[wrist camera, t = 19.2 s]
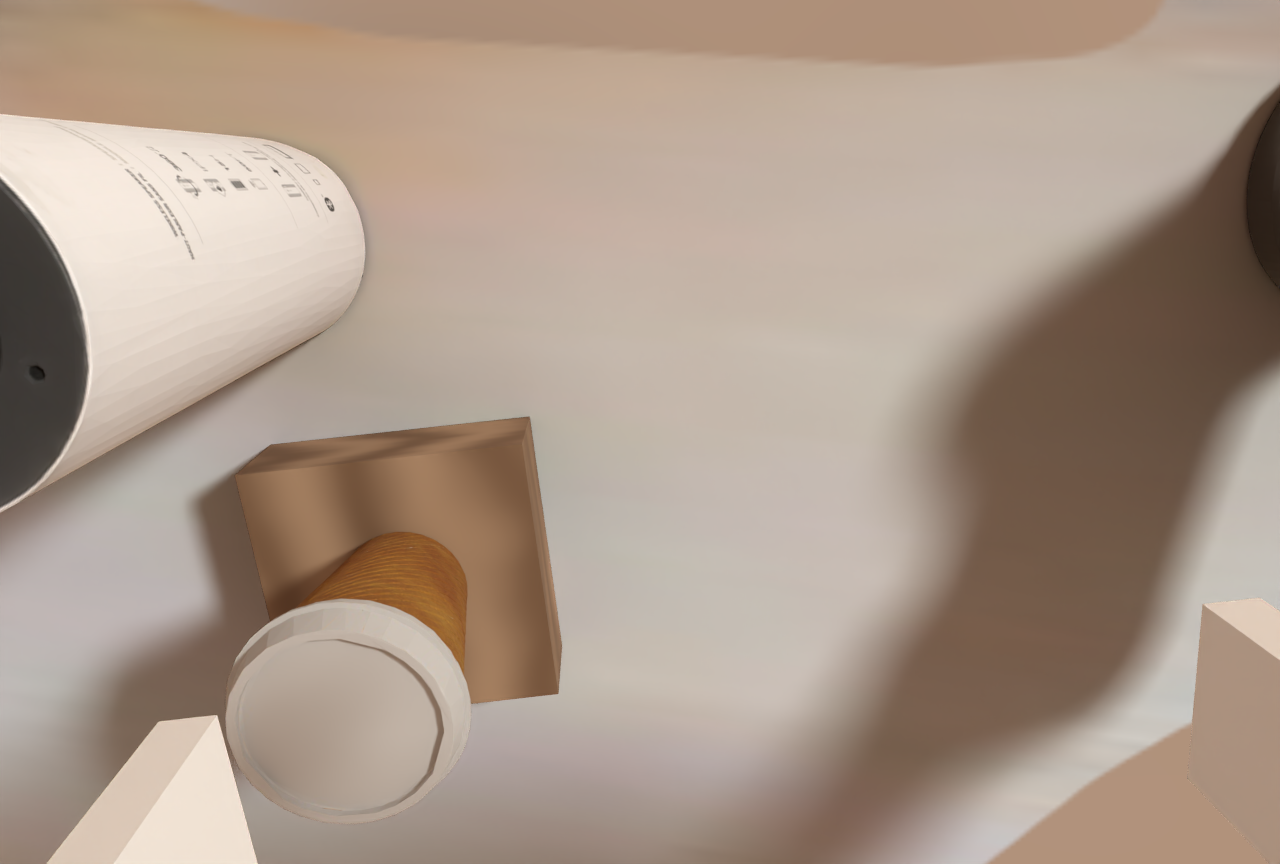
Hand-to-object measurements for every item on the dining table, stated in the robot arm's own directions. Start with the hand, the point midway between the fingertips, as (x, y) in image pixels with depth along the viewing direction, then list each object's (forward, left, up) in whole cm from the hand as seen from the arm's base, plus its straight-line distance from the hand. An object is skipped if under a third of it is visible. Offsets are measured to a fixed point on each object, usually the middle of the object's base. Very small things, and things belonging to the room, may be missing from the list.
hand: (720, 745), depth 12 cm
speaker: (+18, -6, -37) cm, 41 cm away
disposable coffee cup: (+13, +12, -32) cm, 36 cm away
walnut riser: (+13, +12, -37) cm, 41 cm away
